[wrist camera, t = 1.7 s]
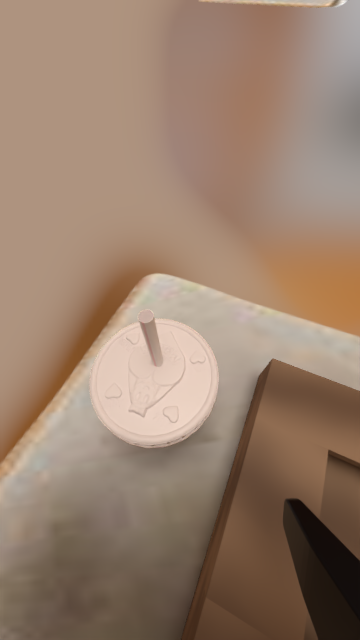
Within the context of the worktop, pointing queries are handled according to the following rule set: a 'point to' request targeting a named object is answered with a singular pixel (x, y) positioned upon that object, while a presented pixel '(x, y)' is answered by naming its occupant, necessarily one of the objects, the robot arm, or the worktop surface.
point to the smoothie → (154, 382)
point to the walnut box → (279, 506)
